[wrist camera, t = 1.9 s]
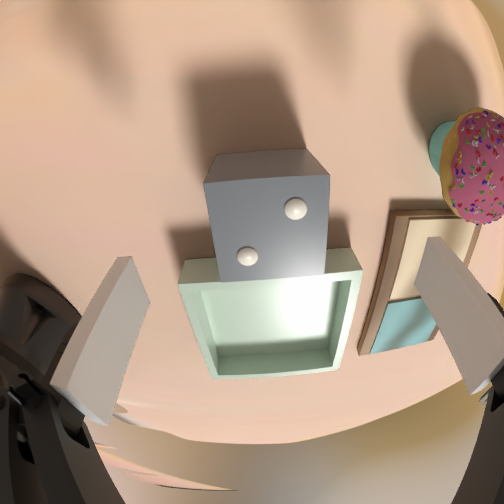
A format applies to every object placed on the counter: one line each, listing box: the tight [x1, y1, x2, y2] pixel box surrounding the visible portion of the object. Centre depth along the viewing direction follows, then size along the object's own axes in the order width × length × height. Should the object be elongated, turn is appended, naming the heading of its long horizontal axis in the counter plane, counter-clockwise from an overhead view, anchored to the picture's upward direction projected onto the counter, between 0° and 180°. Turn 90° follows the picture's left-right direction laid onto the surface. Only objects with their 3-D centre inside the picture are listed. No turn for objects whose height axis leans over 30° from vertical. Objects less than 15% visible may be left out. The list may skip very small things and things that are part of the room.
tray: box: [178, 247, 363, 379], centre depth 24 cm, size 14×14×3 cm
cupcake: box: [429, 107, 504, 225], centre depth 12 cm, size 9×8×12 cm
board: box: [357, 210, 482, 356], centre depth 24 cm, size 11×18×1 cm, turn 5°
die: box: [203, 148, 330, 283], centre depth 17 cm, size 6×6×6 cm
